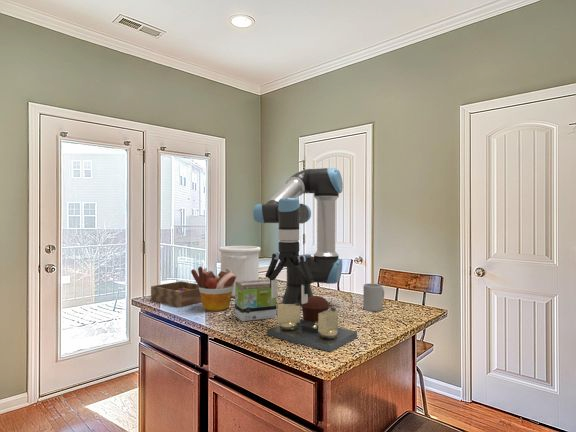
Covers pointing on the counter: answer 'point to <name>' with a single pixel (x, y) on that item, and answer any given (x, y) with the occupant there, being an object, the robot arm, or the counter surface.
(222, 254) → the bucket
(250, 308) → the tea box
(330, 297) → the counter surface
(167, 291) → the book tray
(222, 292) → the bucket of meat
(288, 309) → the knob
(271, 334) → the levelling plate
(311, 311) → the muffin
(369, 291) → the mug
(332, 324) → the knob
